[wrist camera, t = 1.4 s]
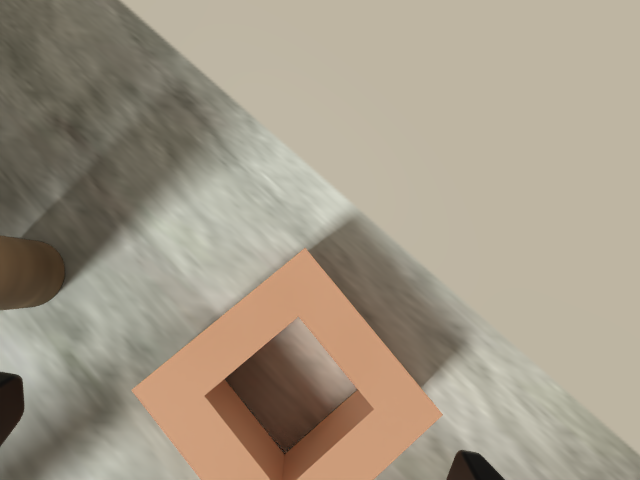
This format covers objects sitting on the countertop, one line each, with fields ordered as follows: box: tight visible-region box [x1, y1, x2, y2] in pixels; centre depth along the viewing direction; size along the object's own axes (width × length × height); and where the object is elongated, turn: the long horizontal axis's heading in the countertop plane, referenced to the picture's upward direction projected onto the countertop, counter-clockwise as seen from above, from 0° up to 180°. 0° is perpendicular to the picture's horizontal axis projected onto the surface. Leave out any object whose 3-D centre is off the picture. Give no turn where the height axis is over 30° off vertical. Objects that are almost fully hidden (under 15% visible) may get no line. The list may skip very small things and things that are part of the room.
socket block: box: [132, 248, 443, 480], centre depth 20 cm, size 11×11×4 cm
